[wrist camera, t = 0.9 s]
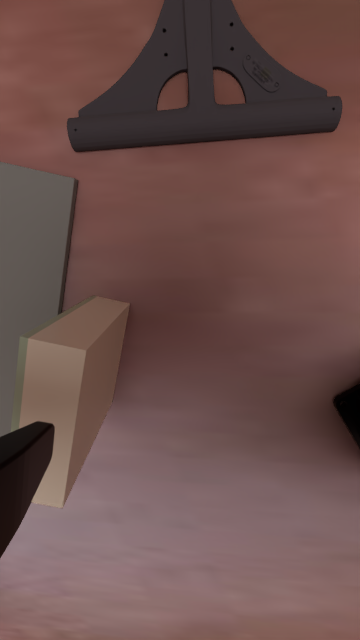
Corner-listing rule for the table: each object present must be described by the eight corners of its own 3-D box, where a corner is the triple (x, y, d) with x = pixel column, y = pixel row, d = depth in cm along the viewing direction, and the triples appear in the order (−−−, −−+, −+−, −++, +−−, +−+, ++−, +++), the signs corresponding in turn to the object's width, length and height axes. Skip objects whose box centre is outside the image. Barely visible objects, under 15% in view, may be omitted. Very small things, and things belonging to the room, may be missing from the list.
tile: (130, 303, 20) (86, 350, 11) (112, 401, 22) (62, 508, 13) (92, 295, 20) (19, 336, 11) (77, 394, 22) (4, 497, 13)
